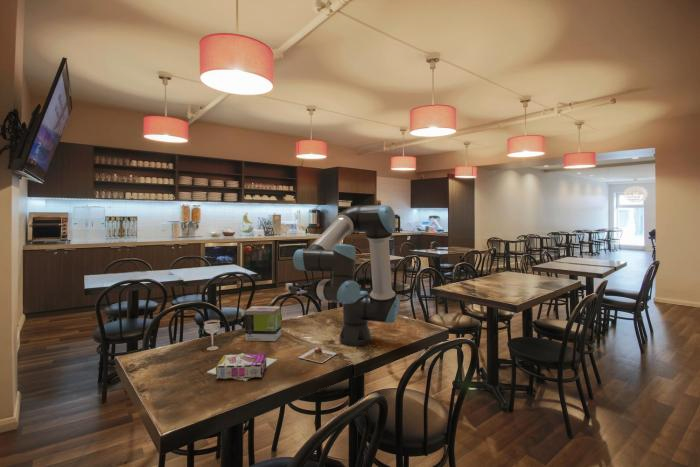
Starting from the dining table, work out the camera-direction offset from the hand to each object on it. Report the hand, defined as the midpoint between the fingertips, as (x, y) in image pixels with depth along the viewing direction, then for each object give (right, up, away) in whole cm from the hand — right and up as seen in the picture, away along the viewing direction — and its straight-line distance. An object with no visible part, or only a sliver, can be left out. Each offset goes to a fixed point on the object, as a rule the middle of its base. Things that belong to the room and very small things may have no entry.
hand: (287, 286), depth 144 cm
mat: (-17, -31, -3) cm, 35 cm away
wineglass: (-37, -30, +17) cm, 51 cm away
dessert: (+12, -31, +7) cm, 34 cm away
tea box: (-17, -30, +31) cm, 46 cm away
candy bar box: (-7, -28, -8) cm, 30 cm away
